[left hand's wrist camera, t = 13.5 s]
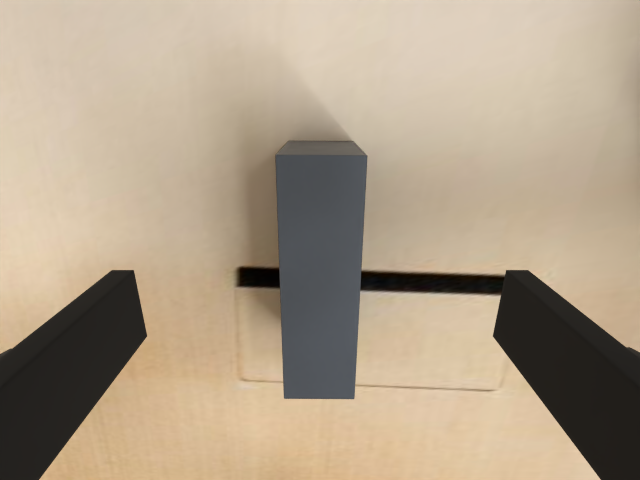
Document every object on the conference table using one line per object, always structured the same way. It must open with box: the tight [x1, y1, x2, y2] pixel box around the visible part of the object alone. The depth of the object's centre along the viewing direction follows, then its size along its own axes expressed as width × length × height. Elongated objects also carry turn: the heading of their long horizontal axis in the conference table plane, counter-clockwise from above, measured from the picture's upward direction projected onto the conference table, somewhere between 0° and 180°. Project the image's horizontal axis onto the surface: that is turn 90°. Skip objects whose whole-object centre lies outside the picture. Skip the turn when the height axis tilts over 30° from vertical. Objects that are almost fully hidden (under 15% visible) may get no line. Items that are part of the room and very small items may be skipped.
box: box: [275, 141, 367, 399], centre depth 32 cm, size 21×6×10 cm, turn 179°
